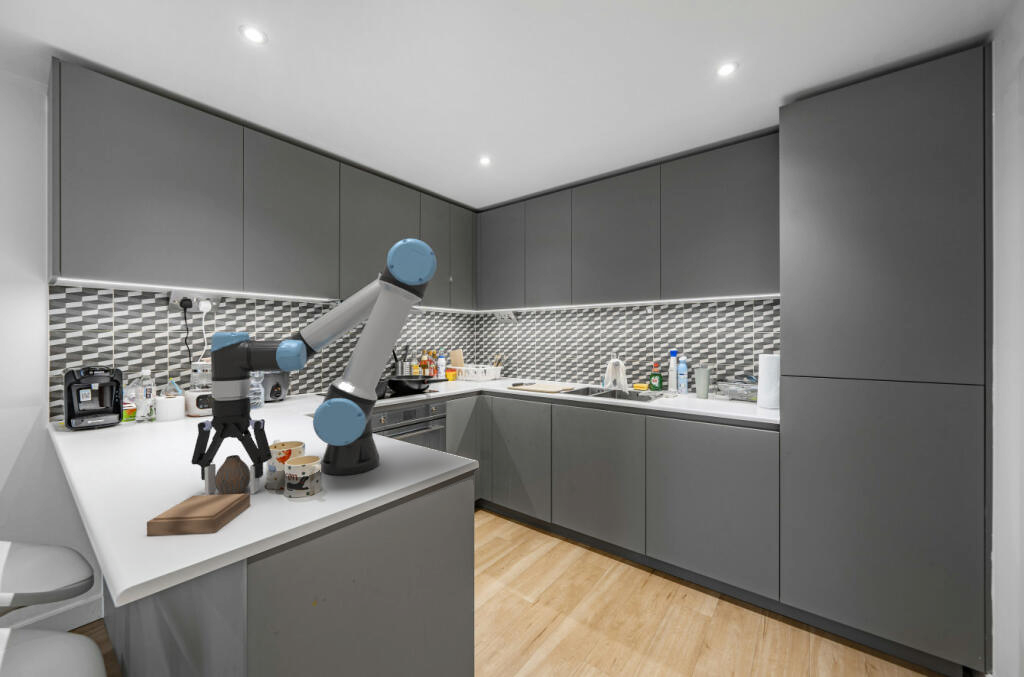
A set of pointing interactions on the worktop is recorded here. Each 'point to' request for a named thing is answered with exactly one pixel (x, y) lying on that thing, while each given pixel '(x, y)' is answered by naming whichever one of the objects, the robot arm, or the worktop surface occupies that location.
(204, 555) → the worktop surface
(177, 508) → the tray
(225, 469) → the vase
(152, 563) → the worktop surface
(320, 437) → the robot arm
